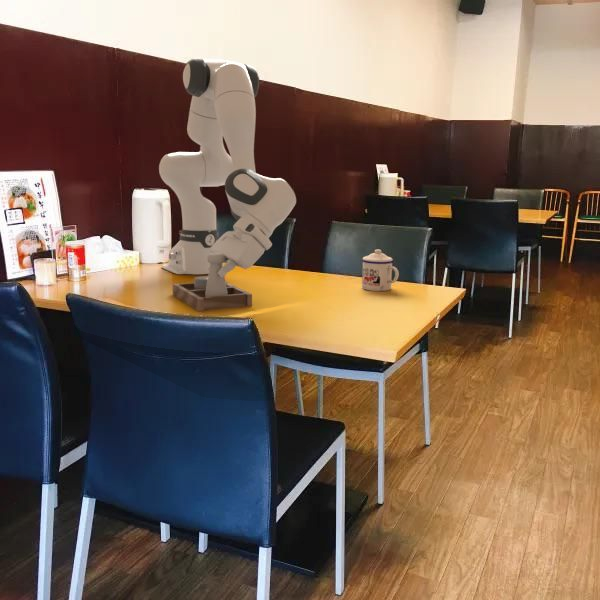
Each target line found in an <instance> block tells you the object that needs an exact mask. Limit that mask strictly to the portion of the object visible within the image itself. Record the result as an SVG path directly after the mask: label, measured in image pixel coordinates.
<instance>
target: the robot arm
mask: <svg viewBox="0 0 600 600" xmlns="http://www.w3.org/2000/svg"><path fill="white" fill-rule="evenodd" d="M182 81H183V85H184V89H185V90H186V92H187V94H189V95H191V96H192V97H191V101H190V107H189V112H188V121H187V126H186V127H187V128H186V130H187V135H188V137H189V138H190V139H191V140H192V141H193V142H194V143H196V144H197V145H199V146H200V147H199V149H200V150H199V151H197V152H194V151H191V152H190V151H177V152H171V153H168V154H167V153H166V154H165V155H164V156H163V157H162V158H161V159H160V162H159V165H158V171H159V176H160V178H161V180H162V181H163V182H164V184H166V185H167V186H168V187H169V188H170V189H171V190H172V191H173V192H174V193H175V195H176V196H177V199H178V202H179V204H180V209H181V218H182V221H181V222H182V229H181V230H179V231H178V232H179V233H178V235H179V241H178V242H177V243H176V244H175V245H174V246H173V247H172V248H171V249H170V250H169V252H168V263H164V264H161V268H162V269H164V270H166V271H168V272H171V273H172V274H173V273H174V274H176V275H208V273H209V267H210V263H209V262H208V255H209V254H211V253H222V254H223V255H224V257H225V261H224V262H226V263H225V264H222V265H223V267H222V268H221V267H220V268H219V269H218V271H217V272H216V273H217V274H218V275H219V276H220V277H224V276H225V277H226V275H227V274H228V273H230V272H232V270H234V269H235V268H236V267H239V268H242V269H244V270H247V269H249V268H251V267H252V266H253V265H254V264H255V263H256V262H257V261H258V260H259V259H260V258H261V257H262V255H264V252H265V251H268V250H269V249H270V248H272V246H273V243H272V241H271V240H270V237H271V236H272V234H273V232H274V231H275V229H276V228H277V227H278V226H280V225H282V224H283V222H284V221H285V220H286V219H287V217H288V216H289V215H290V213H291V212H292V210H293V209H294V207H295V206H296V204H297V196H296V193H295V190H294V189H293V187H292V186H291V185H290V184H289V183H288V181H286V180H285V179H283V178H282V177H277V178H273V177H268V176H263V175H261V174H259V173H257V172H256V170H257V169H256V163H255V152H254V150H255V134H256V120H257V119H256V118H257V116H256V115H257V114H256V113H257V110H256V108H257V107H256V99H255V98H256V97H257V95H258V92H259V89H260V75H259V73H258V71H257V69H256V68H255V67H254V66H251V65H249V64H246V63H244V64H242V63H239V62H236V61H231V60H230V61H229V60H225V59H212V58H210V59H208V58H202V57H195V58H190V59H189V60H188V61H187V62H186V64H185V67H184V69H183V72H182ZM223 140H224V141H225V144H226V147H227V149H228V152H229V153H228V152H227V150H226V148H225V145H224V141H223ZM220 186H224V189H225V190H224V191H225V194H226V197H227V200H228V203H229V206H230V208H229V209H230V213H231V215H232V217H233V218H234V219H235V220H236V222H235V223H234V224H233V226H232V228H233V230H228V231H226V232H224V233H223V234H222V235H221V236H220V237H219V231H218V230H219V229H217V208H216V205H215V204H214V202H212V201H211V200H210V199H208V198H207V197H205V196H204V195H203V194H202V192H201V187H202V188H203V187H205V188H206V187H208V188H209V187H220Z"/></svg>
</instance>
